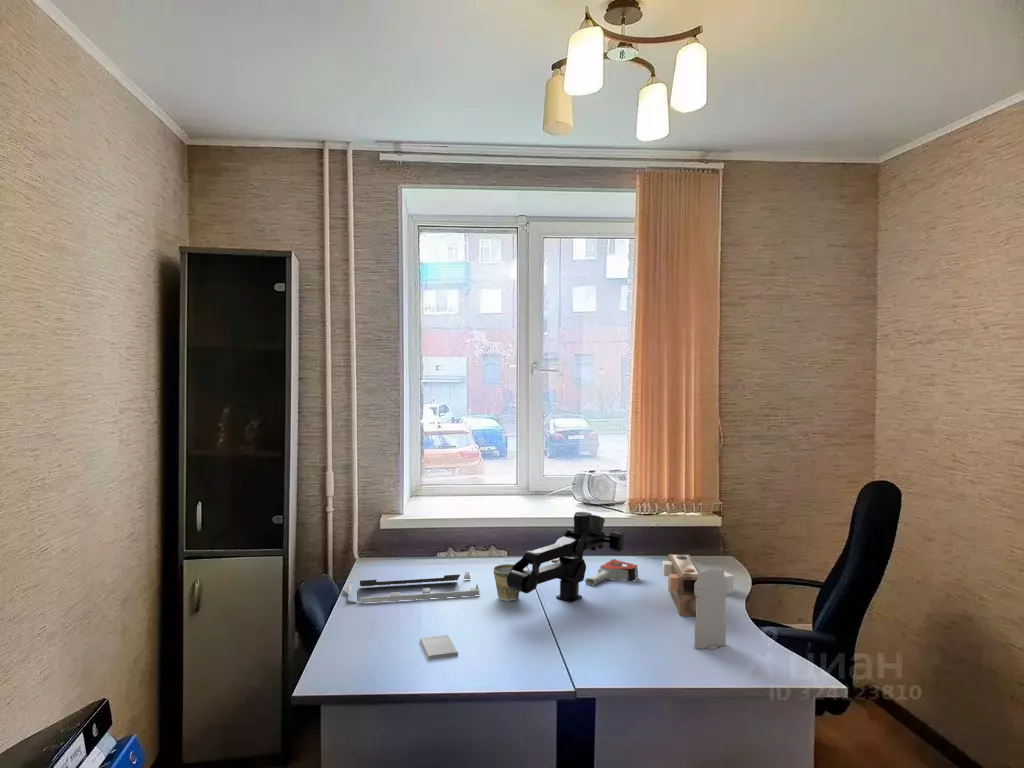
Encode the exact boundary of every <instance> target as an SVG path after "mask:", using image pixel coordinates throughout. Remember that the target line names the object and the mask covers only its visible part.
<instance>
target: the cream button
mask: <svg viewBox="0 0 1024 768" xmlns="http://www.w3.org/2000/svg"><path fill="white" fill-rule="evenodd" d="M662 574H663V577H668V576H669V574H672V562H671V561H669V560H662Z"/></svg>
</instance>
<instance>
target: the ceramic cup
mask: <svg viewBox="0 0 1024 768" xmlns="http://www.w3.org/2000/svg"><path fill="white" fill-rule="evenodd" d="M513 566H514V564H512V563H505V564H499V565H496V566H494V567H493V576H494V581H495V586H496V592H497V593H496V594H497V597H499V598H498V599H499V600H500V599H501V600H500V601H502V600H505V601H504V602H507V601H508V602H512V601H511V600H515V601H517V600H519V597H520V593H521V592H520V591H517V590H514V589H511V588H509V587H508V585H507V576H508V574H509V572H510V571H511V569H512V567H513ZM516 599H517V600H516Z"/></svg>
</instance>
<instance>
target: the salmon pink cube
mask: <svg viewBox="0 0 1024 768" xmlns="http://www.w3.org/2000/svg"><path fill="white" fill-rule="evenodd" d="M669 588H670V590H678V591H679V576H678V574H669Z"/></svg>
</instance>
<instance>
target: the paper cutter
mask: <svg viewBox="0 0 1024 768" xmlns="http://www.w3.org/2000/svg"><path fill="white" fill-rule="evenodd" d="M460 577H461V574H446V575H444V576H443V577H436V578H435V577H434V578H420V579H402V580H388V581H377V579H366V580H359V587H360V586H362V587H373V586H374V587H376V586H375V585H378V586H391V584H393V585H404V584H405V585H406V584H407V583H409V584H420V583H421V584H422V583H423V582H425V583H437V582H439V581H440V582H453V581H455V580H456V581H458V580H459V578H460ZM464 579H470V580H471V575H470V571H466V572H465V574H464V575H463V580H464ZM423 584H424V583H423ZM353 585H354V584H350V583H348V584H347V585H346V586H344V588H343V591H344V593H345V594H347V596H348V597H347V602H350V603H352V602H355V601H354V600H351V598H352V597H351V594H352V586H353ZM475 586H476V587H474V588H472V587H471V588H470V589H469V590H457V591H456V590H455V591H442V592H441V591H440V592H431V588H430V587H427V588H426V587H425V588H424V587H423V588H422V589H421V590H422V591H421V592H422V593H423V594H422V593H412V594H401V592H400V591H399V592H398V591H397V592H389V595H390V596H389V595H382V596H379V595H378V596H366V597H364V596H363V597H360V602H361V603H364V602H365V603H366V602H382V601H399V600H416V599H418V600H419V599H430V598H447V597H462V596H475V595H479V596H480V588H479V585H478V583H477V584H475ZM462 598H463V597H462ZM419 601H420V600H419Z"/></svg>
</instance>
